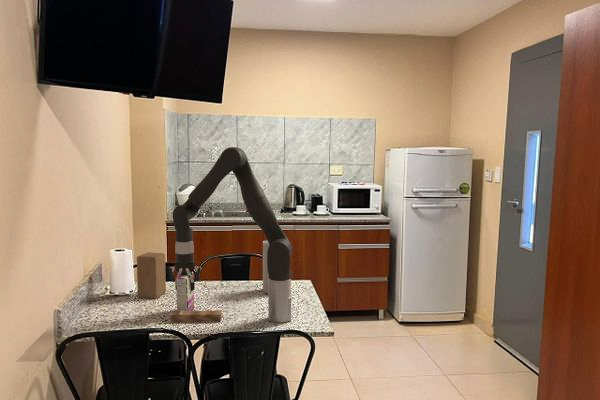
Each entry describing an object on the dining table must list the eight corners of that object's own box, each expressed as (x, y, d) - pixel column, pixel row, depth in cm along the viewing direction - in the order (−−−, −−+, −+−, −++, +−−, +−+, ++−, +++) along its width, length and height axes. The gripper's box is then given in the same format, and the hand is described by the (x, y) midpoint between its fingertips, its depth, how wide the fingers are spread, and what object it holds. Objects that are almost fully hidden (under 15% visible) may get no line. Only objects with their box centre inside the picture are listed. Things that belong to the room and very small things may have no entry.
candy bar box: (183, 308, 205) (182, 271, 203) (194, 308, 205) (194, 271, 203) (176, 316, 194) (175, 278, 192) (188, 316, 194) (187, 278, 192)
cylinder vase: (257, 291, 232) (257, 241, 230) (274, 286, 241) (275, 238, 239) (275, 296, 224) (276, 245, 221) (292, 291, 233) (293, 241, 231)
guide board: (221, 317, 194) (221, 310, 194) (220, 321, 189) (220, 314, 189) (172, 318, 193) (172, 310, 192) (170, 322, 188) (170, 314, 187)
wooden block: (156, 299, 217) (155, 257, 216) (136, 297, 219) (135, 256, 218) (166, 293, 227) (166, 252, 225) (147, 292, 229) (147, 251, 227)
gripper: (165, 253, 193) (166, 293, 194) (200, 253, 194) (201, 293, 195) (169, 249, 200) (169, 288, 202) (203, 249, 201) (203, 288, 203)
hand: (185, 290), depth 198 cm, fingers closed on candy bar box, 5 cm apart
